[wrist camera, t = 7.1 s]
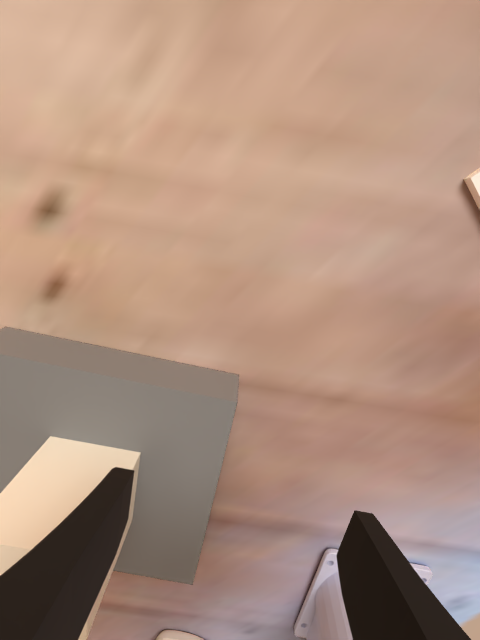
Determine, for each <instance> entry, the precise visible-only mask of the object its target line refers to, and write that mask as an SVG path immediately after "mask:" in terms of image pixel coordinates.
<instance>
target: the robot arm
mask: <svg viewBox="0 0 480 640" xmlns="http://www.w3.org/2000/svg"><path fill="white" fill-rule="evenodd" d="M133 478H134V470H130V469H124V468H119V467H114V468H113V469H111V470H110V472H109V473H108V474H107V475H106V476H105V477H104V479H103V480H102V481H101V482H100V483H99V484H98V485H97V486H96V487H95V489H94V490H93V491H92V492H91V493H90V494H89V495H88V496H87V497H86V498H85V499H84V500H83V501H82V502H81V503H80V504H79V505H78V506H77V507H76V508H75V509H74V510H73V511H72V512H71V513H70V514H69V515H68V516H67V517H66V518H65V519H64V520H63V521H62V522H61V523H60V524H59V525H58V526H57V527H56V528H55V529H54V530H52V531H51V532H50V533H49V534H48V535H47V536H46V537H45V538H44V539H43V540H41V541H40V542H39V543H38V544H37V545H36V546H35V547H34V548H33V549H31V550H30V551H29V552H28V553H27V554H26V555H25V556H23V557H22V558H21V559H20V560H19V561H17V562H16V563H15V564H14V565H13V566H11V567H10V568H9V569H8V570H7V571H5V572H4V573H3V574H2V575H0V640H78V639H79V637H80V634H81V632H82V630H83V628H84V625H85V623H86V621H87V619H88V616H89V614H90V612H91V610H92V607H93V605H94V603H95V601H96V599H97V596H98V594H99V592H100V590H101V587H102V585H103V583H104V581H105V578H106V576H107V574H108V572H109V569H110V567H111V565H112V563H113V560H114V558H115V556H116V553H117V550H118V548H119V545H120V542H121V539H122V536H123V533H124V530H125V527H126V524H127V521H128V518H129V510H130V502H131V494H132V486H133ZM432 575H433V574H432V572H431V569H430V568H429V567H427V566H423V565H418V564H412V563H409V562H408V560H407V559H406V558H405V556H404V555H403V554H402V552H401V551H400V550H399V548H398V547H397V546H396V544H395V543H394V541H393V540H392V539H391V537H390V536H389V535H388V533H387V532H386V531H385V529H384V528H383V526H382V525H381V524H380V522H379V521H378V520H377V519H376V517H375V516H374V515H373V514H372V513H366V512H361V511H354V513H353V516H352V518H351V520H350V523H349V525H348V528H347V530H346V533H345V535H344V538H343V540H342V542H341V545H340V547H339V550H337V549H327V550H326V551H325V552H324V555H323V557H322V560H321V562H320V565H319V567H318V570H317V572H316V574H315V577H314V579H313V582H312V584H311V587H310V589H309V592H308V594H307V596H306V599H305V601H304V604H303V606H302V609H301V611H300V614H299V616H298V618H297V621H296V623H295V626H294V634H295V635H296V636H297V637H302V638H306V640H471V639H470V638H469V637H468V635H467V634H466V633H465V632H464V631H463V630H462V628H461V627H460V626H459V625H458V624H457V622H456V621H455V620H454V619H453V618H452V616H451V615H450V614H449V613H448V611H447V610H446V609H445V608H444V607H443V605H442V604H441V603H440V602H439V600H438V599H437V598H436V597H435V595H434V594H433V593H432V592H431V590H430V589H429V588H428V587H427V585H428V583H429V581H430V579H431V578H432Z"/></svg>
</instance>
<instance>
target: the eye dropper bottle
mask: <svg viewBox="0 0 480 640" xmlns="http://www.w3.org/2000/svg"><path fill="white" fill-rule="evenodd" d="M156 640H204V639H203V638H201V637H198V636H196V635H193V634H190V633H187V632H183V631H177V630H164V631H162V632H161V633H160V634H159V635H158V637H157V638H156Z"/></svg>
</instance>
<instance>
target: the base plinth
mask: <svg viewBox="0 0 480 640" xmlns="http://www.w3.org/2000/svg"><path fill="white" fill-rule="evenodd" d="M238 385H239V375H237V374H232V373H227V372H222V371H218V370H213V369H208V368H203V367H198V366H193V365H189V364H184V363H179V362H174V361H169V360H164V359H159V358H155V357H150V356H145V355H140V354H135V353H130V352H125V351H121V350H116V349H111V348H106V347H101V346H96V345H92V344H87V343H82V342H77V341H72V340H67V339H62V338H58V337H53V336H48V335H43V334H38V333H33V332H28V331H24V330H19V329H14V328H9V327H4V328H2V329H0V493H1V492H2V491H3V490H4V489H5V488H6V486H7V485H8V484H9V483H10V482H11V481H12V480H13V478H14V477H15V476H16V475H17V474H18V473H19V472H20V470H21V469H22V468H23V467H24V466H25V465H26V464H27V462H28V461H29V460H30V459H31V458H32V457H33V455H34V454H35V453H36V452H37V451H38V450H39V449H40V447H41V446H42V445H43V444H44V443H45V442H46V441H47V439H48V438H49V437H50V436H52V437H58V438H63V439H69V440H74V441H80V442H85V443H91V444H96V445H102V446H108V447H113V448H119V449H124V450H130V451H135V452H141V454H140V462H139V470H138V478H137V486H136V494H135V502H134V510H133V518H132V522H131V524H130V527H129V529H128V532H127V535H126V537H125V540H124V543H123V545H122V548H121V551H120V553H119V556H118V559H117V561H116V564H115V567H114V569H113V571H118V572H124V573H129V574H135V575H140V576H146V577H152V578H157V579H163V580H168V581H174V582H179V583H185V584H191V585H193V582H194V577H195V573H196V569H197V565H198V561H199V557H200V553H201V549H202V545H203V541H204V537H205V532H206V528H207V524H208V520H209V516H210V512H211V508H212V504H213V500H214V496H215V492H216V487H217V483H218V479H219V475H220V471H221V467H222V463H223V459H224V455H225V451H226V447H227V442H228V438H229V434H230V430H231V426H232V422H233V418H234V414H235V410H236V406H237V400H238Z"/></svg>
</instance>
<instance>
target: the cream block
mask: <svg viewBox="0 0 480 640" xmlns="http://www.w3.org/2000/svg"><path fill="white" fill-rule="evenodd" d="M140 454H141V452H135V451H130V450H124V449H119V448H113V447H108V446H102V445H96V444H91V443H85V442H80V441H74V440H69V439H63V438H58V437H52V436H50V437H49V438H48V439H47V441H46V442H45V443H44V444H43V445H42V446H41V447H40V449H39V450H38V451H37V452H36V453H35V454H34V455H33V457H32V458H31V459H30V460H29V461H28V462H27V464H26V465H25V466H24V467H23V468H22V469H21V470H20V472H19V473H18V474H17V475H16V476H15V477H14V478H13V480H12V481H11V482H10V483H9V484H8V485H7V486H6V488H5V489H4V490H3V491H2V492H1V493H0V575H2V574H3V573H4V572H5V571H7V570H8V569H9V568H10V567H11V566H13V565H14V564H15V563H16V562H17V561H19V560H20V559H21V558H22V557H23V556H25V555H26V554H27V553H28V552H29V551H30V550H31V549H33V548H34V547H35V546H36V545H37V544H38V543H39V542H40V541H41V540H43V539H44V538H45V537H46V536H47V535H48V534H49V533H50V532H51V531H52V530H54V529H55V528H56V527H57V526H58V525H59V524H60V523H61V522H62V521H63V520H64V519H65V518H66V517H67V516H68V515H69V514H70V513H71V512H72V511H73V510H74V509H75V508H76V507H77V506H78V505H79V504H80V503H81V502H82V501H83V500H84V499H85V498H86V497H87V496H88V495H89V494H90V493H91V492H92V491H93V490H94V489H95V487H96V486H97V485H98V484H99V483H100V482H101V481H102V480H103V479H104V477H105V476H106V475H107V474H108V473H109V472H110V470H111V469H113V468H114V467H119V468H124V469H130V470H134V478H133V486H132V494H131V502H130V510H129V518H128V521H127V524H126V527H125V530H124V533H123V536H122V539H121V542H120V545H119V548H118V550H117V553H116V556H115V558H114V560H113V563H112V565H111V567H110V569H109V572H108V574H107V576H106V578H105V581H104V583H103V585H102V587H101V590H100V592H99V594H98V596H97V599H96V601H95V603H94V605H93V607H92V610H91V612H90V614H89V616H88V619H87V621H86V623H85V625H84V628H83V630H82V632H81V634H80V637H79V639H78V640H87V638H88V635H89V633H90V630H91V627H92V625H93V622H94V619H95V617H96V614H97V612H98V609H99V606H100V604H101V601H102V598H103V596H104V593H105V590H106V588H107V585H108V582H109V580H110V577H111V574H112V572H113V569H114V567H115V564H116V561H117V559H118V556H119V553H120V551H121V548H122V545H123V543H124V540H125V537H126V535H127V532H128V529H129V527H130V524H131V522H132V518H133V510H134V502H135V494H136V486H137V478H138V470H139V462H140Z"/></svg>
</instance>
